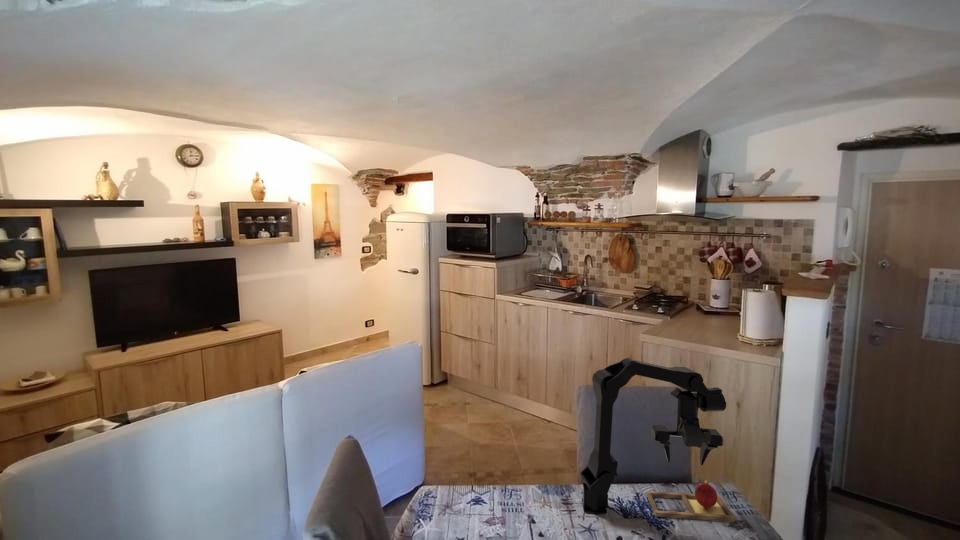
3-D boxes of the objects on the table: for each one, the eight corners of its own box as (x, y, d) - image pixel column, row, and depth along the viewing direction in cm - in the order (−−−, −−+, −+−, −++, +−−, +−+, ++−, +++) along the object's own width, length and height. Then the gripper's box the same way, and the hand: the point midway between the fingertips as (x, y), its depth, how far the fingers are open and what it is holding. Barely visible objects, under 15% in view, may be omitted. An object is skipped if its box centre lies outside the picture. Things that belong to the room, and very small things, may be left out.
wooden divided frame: (655, 516, 128) (655, 512, 128) (646, 494, 139) (646, 490, 139) (734, 521, 125) (734, 517, 125) (719, 499, 136) (719, 495, 136)
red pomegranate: (719, 515, 128) (720, 487, 127) (697, 512, 129) (698, 485, 129) (713, 503, 134) (714, 476, 133) (692, 501, 135) (693, 475, 134)
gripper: (660, 419, 127) (658, 474, 128) (732, 424, 124) (729, 480, 125) (651, 405, 138) (649, 455, 139) (717, 410, 135) (714, 461, 136)
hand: (684, 463), depth 135 cm, fingers open, 9 cm apart
